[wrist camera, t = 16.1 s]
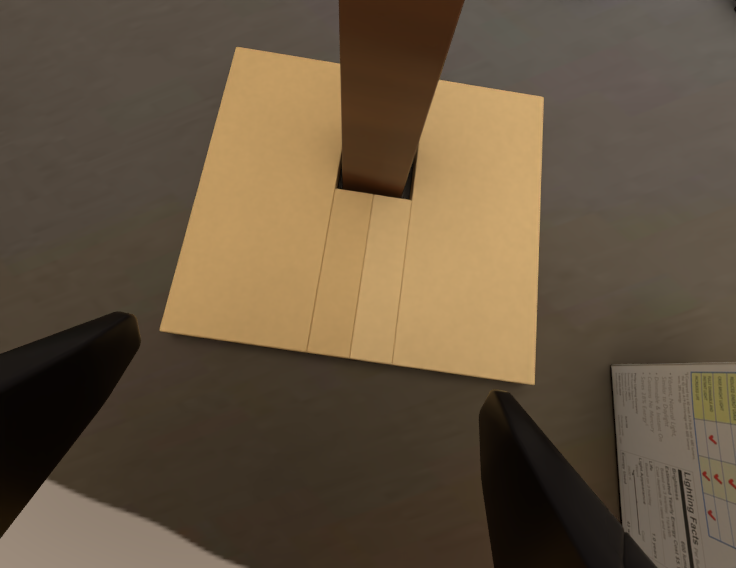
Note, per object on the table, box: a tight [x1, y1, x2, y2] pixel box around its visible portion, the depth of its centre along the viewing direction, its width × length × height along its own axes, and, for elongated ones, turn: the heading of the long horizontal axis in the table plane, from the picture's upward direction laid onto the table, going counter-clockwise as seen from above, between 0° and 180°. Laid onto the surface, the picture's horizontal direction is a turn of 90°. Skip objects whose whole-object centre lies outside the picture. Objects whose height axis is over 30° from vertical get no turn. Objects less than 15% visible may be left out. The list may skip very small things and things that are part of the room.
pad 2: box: [349, 80, 544, 385], centre depth 24 cm, size 20×11×2 cm, turn 172°
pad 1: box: [160, 47, 373, 359], centre depth 24 cm, size 20×11×2 cm, turn 172°
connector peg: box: [339, 0, 465, 199], centre depth 18 cm, size 4×4×15 cm
